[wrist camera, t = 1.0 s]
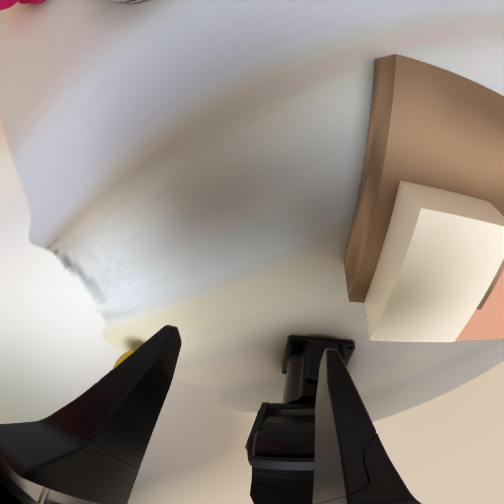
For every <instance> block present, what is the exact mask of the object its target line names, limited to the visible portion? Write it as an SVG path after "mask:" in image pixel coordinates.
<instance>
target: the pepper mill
mask: <svg viewBox="0 0 504 504" xmlns="http://www.w3.org/2000/svg"><path fill="white" fill-rule="evenodd" d="M42 1H44V0H0V10H4V9H7V8H9V7H11V6H12V5H14V4H15V3H17V2H19V3H21V4H36V3H40V2H42Z"/></svg>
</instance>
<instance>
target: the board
mask: <svg viewBox="0 0 504 504" xmlns="http://www.w3.org/2000/svg"><path fill="white" fill-rule="evenodd" d="M400 181H404V182H409V183H414V184H419V185H424V186H429V187H433V188H437V189H442V190H446V191H450V192H454V193H458V194H462V195H466V196H470V197H473V198H477V199H481V200H484V201H488V202H489V203H491V204H492V205H493V206H494V207H495V208H496V209H497V210H498V211H499V212H500V213H501V214H502V215H503V216H504V96H502V95H500V94H498V93H496V92H494V91H492V90H490V89H488V88H486V87H484V86H482V85H480V84H478V83H476V82H473V81H471V80H469V79H467V78H464V77H462V76H460V75H457V74H455V73H452V72H450V71H447V70H444V69H442V68H439V67H436V66H433V65H430V64H427V63H424V62H421V61H418V60H415V59H411V58H408V57H404V56H401V55H397V54H395V55H391V56H386V57H382V58H378V59H375V65H374V81H373V94H372V104H371V114H370V123H369V131H368V139H367V146H366V153H365V160H364V166H363V173H362V179H361V184H360V190H359V195H358V201H357V206H356V211H355V216H354V221H353V225H352V230H351V235H350V239H349V244H348V248H347V252H346V256H345V260H344V266H345V274H346V281H347V289H348V297H349V301H351V302H362V303H364V301H365V299H366V296H367V293H368V290H369V288H370V285H371V282H372V279H373V276H374V273H375V270H376V267H377V264H378V261H379V258H380V254H381V251H382V248H383V245H384V241H385V238H386V234H387V231H388V227H389V224H390V220H391V216H392V212H393V208H394V204H395V200H396V196H397V192H398V188H399V183H400ZM503 270H504V259H503V261H502V263H501V265H500V267H499V269H498V271H497V273H496V275H495V277H494V279H493V281H492V283H491V284H490V286H489V288H488V290H487V292H486V293H485V295H484V297H483V298H482V300H481V302H480V304H479V305H478V307H477V308H476V309H480V310H481V308H482V307H483V305H484V304H485V302H486V300H487V299H488V297H489V295H490V294H491V292H492V290H493V288H494V286H495V285H496V283H497V281H498V279H499V277H500V275H501V274H502V272H503Z"/></svg>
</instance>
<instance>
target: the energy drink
mask: <svg viewBox="0 0 504 504" xmlns="http://www.w3.org/2000/svg"><path fill="white" fill-rule="evenodd" d="M111 1H116V2H120V3H136V2H140V1H143V0H111Z"/></svg>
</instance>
